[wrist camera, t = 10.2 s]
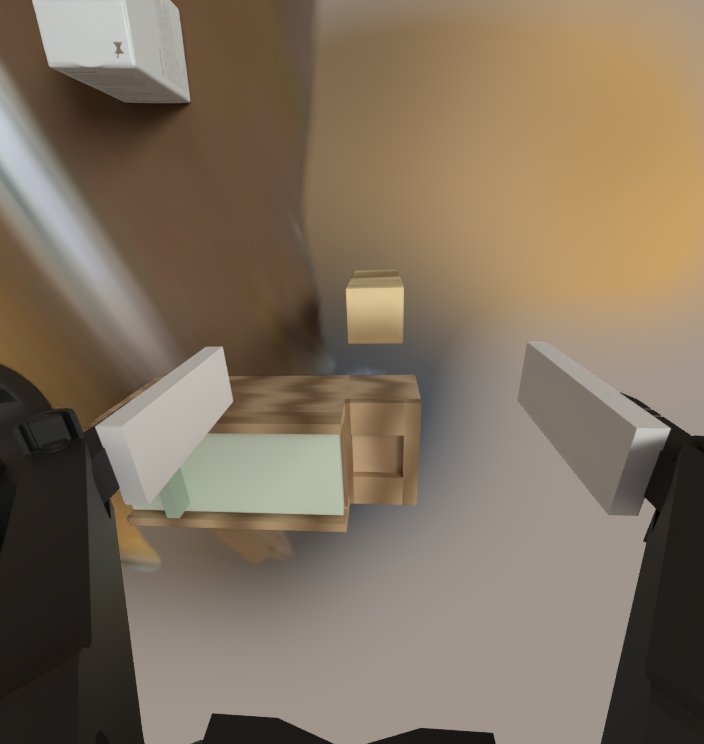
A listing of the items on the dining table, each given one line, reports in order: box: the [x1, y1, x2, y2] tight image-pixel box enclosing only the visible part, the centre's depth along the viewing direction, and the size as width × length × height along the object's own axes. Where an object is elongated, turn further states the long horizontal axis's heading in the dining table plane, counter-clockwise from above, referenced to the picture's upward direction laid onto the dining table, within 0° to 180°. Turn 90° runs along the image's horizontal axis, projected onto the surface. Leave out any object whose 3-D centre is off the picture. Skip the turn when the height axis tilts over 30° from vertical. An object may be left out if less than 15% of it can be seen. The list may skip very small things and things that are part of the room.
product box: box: [32, 0, 190, 103], centre depth 25 cm, size 6×6×7 cm
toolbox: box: [90, 375, 421, 532], centre depth 36 cm, size 29×12×10 cm, turn 92°
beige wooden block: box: [346, 270, 404, 344], centre depth 29 cm, size 4×4×10 cm
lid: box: [132, 433, 344, 518], centre depth 32 cm, size 21×9×3 cm, turn 92°
